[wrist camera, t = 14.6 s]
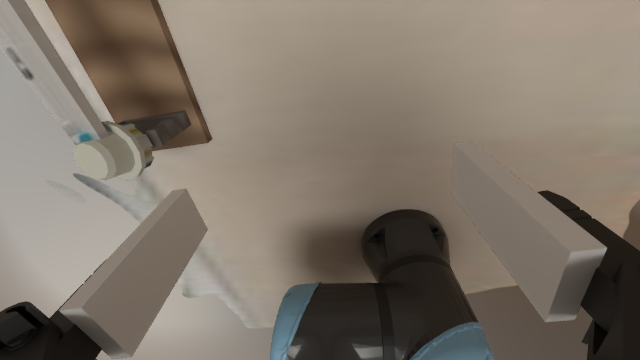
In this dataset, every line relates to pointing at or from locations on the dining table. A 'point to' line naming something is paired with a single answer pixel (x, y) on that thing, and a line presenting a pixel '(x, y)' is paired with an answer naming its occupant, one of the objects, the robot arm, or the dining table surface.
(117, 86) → the hook board
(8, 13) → the grey handled tool
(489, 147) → the dining table surface
